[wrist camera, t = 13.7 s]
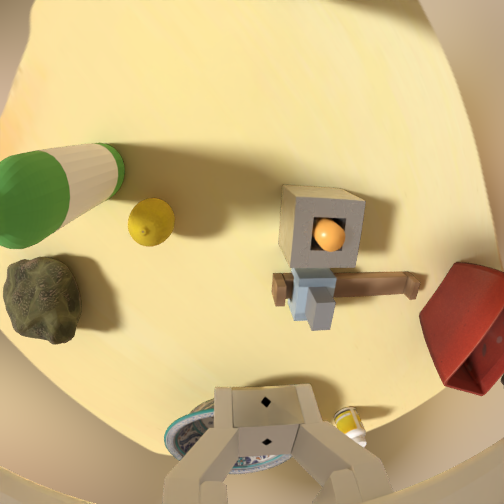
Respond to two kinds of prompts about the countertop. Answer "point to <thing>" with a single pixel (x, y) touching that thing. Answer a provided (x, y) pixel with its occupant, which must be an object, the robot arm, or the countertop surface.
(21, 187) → the wine bottle
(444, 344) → the plant pot
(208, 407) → the bowl
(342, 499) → the robot arm
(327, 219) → the gauge button
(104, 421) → the countertop surface
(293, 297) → the carriage
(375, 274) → the rail
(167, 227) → the lemon
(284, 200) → the grey cube with hole
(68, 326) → the decorative rock
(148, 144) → the countertop surface
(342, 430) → the supplement bottle
